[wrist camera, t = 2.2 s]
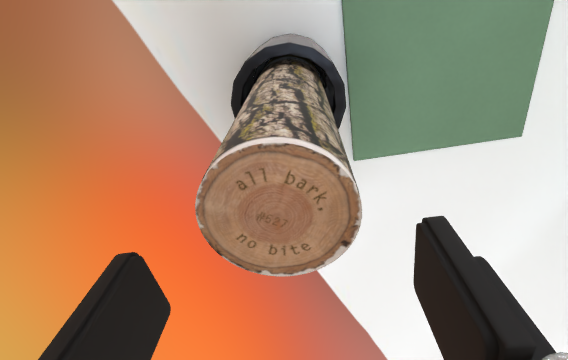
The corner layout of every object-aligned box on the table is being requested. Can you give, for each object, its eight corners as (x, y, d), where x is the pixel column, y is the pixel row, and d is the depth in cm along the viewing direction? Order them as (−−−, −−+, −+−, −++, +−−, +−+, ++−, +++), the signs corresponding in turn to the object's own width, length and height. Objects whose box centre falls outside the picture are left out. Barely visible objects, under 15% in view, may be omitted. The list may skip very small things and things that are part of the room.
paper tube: (272, 40, 31) (218, 113, 10) (329, 65, 32) (396, 180, 11) (252, 99, 34) (179, 250, 13) (305, 120, 36) (318, 292, 14)
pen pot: (236, 44, 32) (217, 56, 24) (328, 25, 30) (340, 31, 23) (257, 130, 36) (247, 163, 29) (337, 117, 35) (349, 148, 28)
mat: (339, -24, 28) (340, -24, 28) (568, -76, 26) (572, -77, 25) (353, 159, 38) (354, 161, 38) (519, 134, 36) (521, 136, 35)
